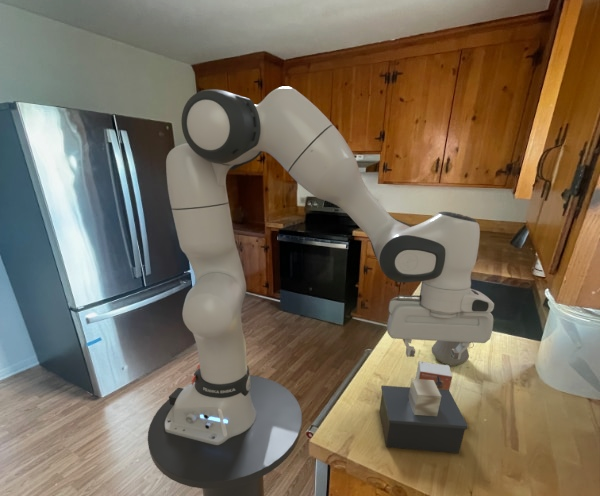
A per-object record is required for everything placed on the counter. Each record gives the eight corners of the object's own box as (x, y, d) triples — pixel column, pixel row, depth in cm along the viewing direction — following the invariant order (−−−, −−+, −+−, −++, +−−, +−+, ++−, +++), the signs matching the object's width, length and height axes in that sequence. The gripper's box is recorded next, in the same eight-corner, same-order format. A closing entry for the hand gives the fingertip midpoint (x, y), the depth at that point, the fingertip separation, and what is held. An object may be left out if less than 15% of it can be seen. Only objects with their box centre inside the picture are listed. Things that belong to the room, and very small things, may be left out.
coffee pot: (427, 349, 116) (434, 310, 111) (462, 353, 114) (471, 313, 109) (439, 384, 97) (448, 339, 91) (480, 389, 95) (493, 344, 89)
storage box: (384, 448, 74) (389, 420, 71) (378, 410, 86) (381, 385, 83) (460, 454, 73) (468, 426, 70) (443, 415, 85) (449, 390, 82)
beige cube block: (414, 414, 73) (417, 394, 71) (408, 397, 79) (411, 378, 77) (437, 416, 73) (441, 396, 71) (429, 399, 78) (433, 379, 76)
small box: (413, 404, 89) (419, 371, 85) (412, 392, 94) (418, 360, 90) (445, 410, 87) (452, 376, 83) (442, 397, 92) (449, 364, 88)
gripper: (392, 300, 63) (385, 361, 69) (503, 304, 62) (487, 367, 67) (387, 289, 69) (381, 346, 74) (489, 293, 68) (475, 351, 73)
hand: (432, 356), depth 71 cm, fingers open, 8 cm apart
